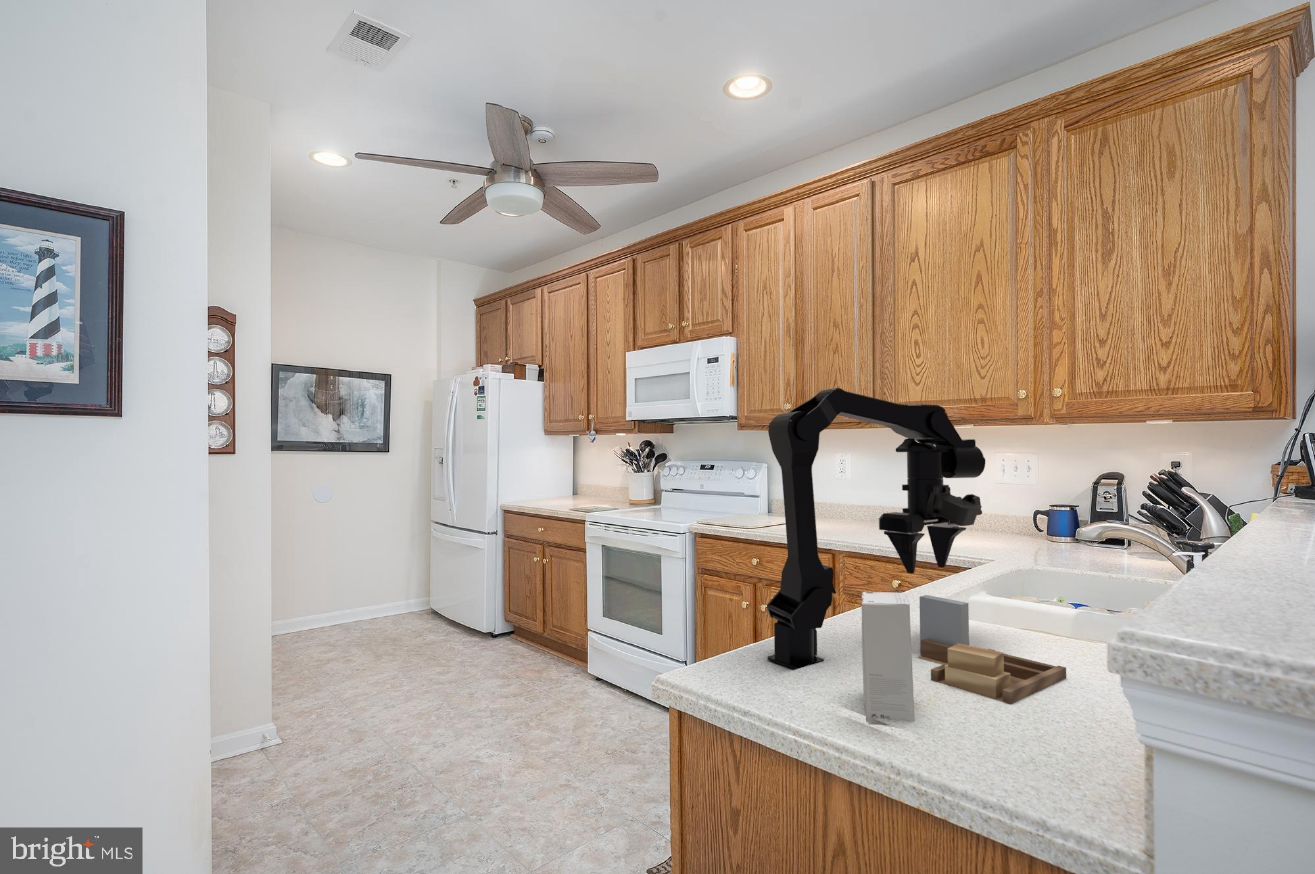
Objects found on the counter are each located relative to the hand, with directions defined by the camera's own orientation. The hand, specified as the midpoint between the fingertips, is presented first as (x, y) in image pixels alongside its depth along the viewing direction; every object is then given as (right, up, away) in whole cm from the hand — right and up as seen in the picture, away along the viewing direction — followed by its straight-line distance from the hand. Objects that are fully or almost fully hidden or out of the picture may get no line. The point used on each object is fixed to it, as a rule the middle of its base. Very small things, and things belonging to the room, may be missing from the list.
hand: (926, 570), depth 111 cm
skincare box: (-17, -13, -28) cm, 35 cm away
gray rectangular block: (-1, -12, -9) cm, 15 cm away
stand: (-1, -13, -9) cm, 16 cm away
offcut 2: (-2, -12, -22) cm, 25 cm away
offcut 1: (-2, -9, -22) cm, 24 cm away
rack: (+2, -13, -19) cm, 23 cm away
